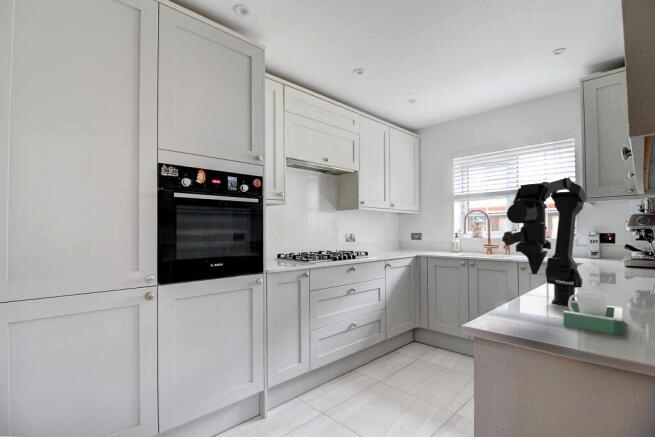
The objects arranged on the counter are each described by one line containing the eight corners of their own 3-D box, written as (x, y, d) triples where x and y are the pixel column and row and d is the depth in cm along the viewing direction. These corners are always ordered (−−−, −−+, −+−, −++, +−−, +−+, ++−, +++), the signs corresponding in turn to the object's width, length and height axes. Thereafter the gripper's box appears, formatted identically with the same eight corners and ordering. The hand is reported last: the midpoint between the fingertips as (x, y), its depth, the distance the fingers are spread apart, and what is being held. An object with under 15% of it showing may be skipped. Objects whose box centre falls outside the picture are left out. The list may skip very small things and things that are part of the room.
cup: (596, 329, 82) (595, 298, 82) (559, 318, 92) (559, 290, 92) (616, 327, 84) (616, 296, 84) (578, 316, 94) (578, 288, 94)
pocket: (571, 312, 98) (570, 300, 98) (622, 320, 90) (622, 307, 90) (563, 325, 86) (563, 311, 86) (622, 335, 78) (621, 320, 78)
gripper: (512, 222, 110) (512, 268, 110) (496, 223, 96) (496, 275, 96) (551, 222, 102) (551, 271, 102) (540, 223, 89) (540, 279, 89)
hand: (534, 274), depth 98 cm, fingers closed
